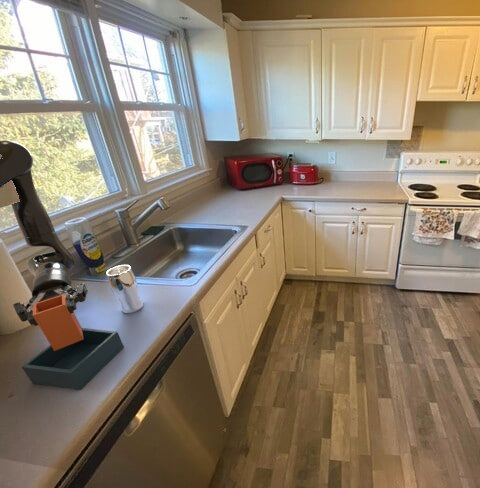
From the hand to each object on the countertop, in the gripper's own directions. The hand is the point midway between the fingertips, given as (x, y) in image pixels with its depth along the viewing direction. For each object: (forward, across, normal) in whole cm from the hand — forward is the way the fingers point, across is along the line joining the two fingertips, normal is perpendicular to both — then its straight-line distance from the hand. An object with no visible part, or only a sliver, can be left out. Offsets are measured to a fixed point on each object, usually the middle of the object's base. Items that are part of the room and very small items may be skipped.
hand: (53, 316), depth 65 cm
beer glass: (-20, +15, +18) cm, 31 cm away
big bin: (-2, 0, +18) cm, 18 cm away
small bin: (-3, 0, +9) cm, 9 cm away
